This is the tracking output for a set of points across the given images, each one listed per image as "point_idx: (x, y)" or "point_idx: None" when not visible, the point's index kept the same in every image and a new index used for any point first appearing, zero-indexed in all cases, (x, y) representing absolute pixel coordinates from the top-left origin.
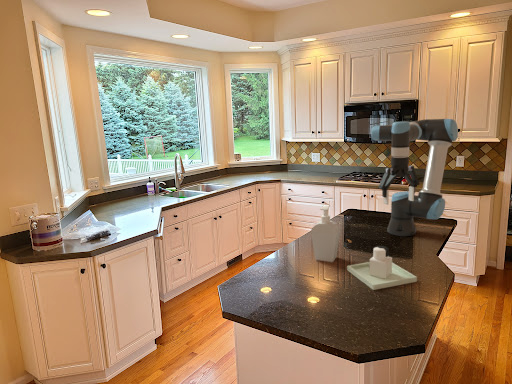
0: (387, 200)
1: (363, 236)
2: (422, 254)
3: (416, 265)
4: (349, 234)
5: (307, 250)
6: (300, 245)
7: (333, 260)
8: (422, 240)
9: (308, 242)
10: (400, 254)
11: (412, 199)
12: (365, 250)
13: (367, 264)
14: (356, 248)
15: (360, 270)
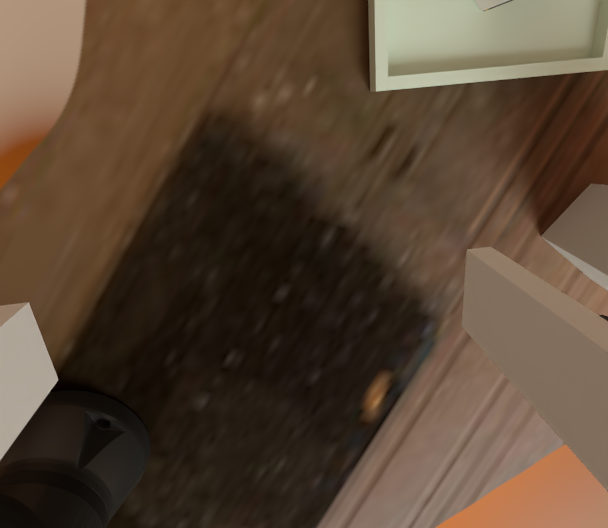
0: (523, 271)
1: (287, 429)
2: (120, 147)
3: (234, 8)
4: (333, 461)
5: None
6: None
7: (585, 192)
8: None
9: None
10: (236, 181)
11: (13, 314)
12: (372, 275)
13: (497, 67)
14: (397, 307)
15: (557, 25)
